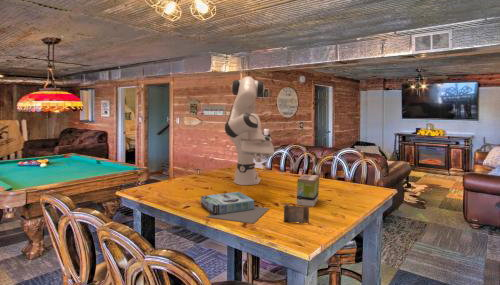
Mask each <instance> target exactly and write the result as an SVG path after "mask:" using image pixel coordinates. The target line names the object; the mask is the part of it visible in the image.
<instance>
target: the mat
mask: <svg viewBox="0 0 500 285" xmlns="http://www.w3.org/2000/svg"><path fill="white" fill-rule="evenodd" d="M267 210H268V211H269V210H270V207H262V206H255V205H254V209H250V210H243V211H236V212H228V213H221V214H214V215H213V214H212V213H210V214H208V215H207V216H206V218H209V219H217V220H224V221H229V222H230V221H231V222H237V223H243V222H244V223H243V224H245V223H246V224H250V223H251V225H252V224H253V225H255V223H257V221H258V220H259V219H261V218H262V217H263V216H264V215H265V214H266V213H267V212H268V211H267ZM266 211H267V212H266ZM265 212H266V213H265ZM264 213H265V214H264ZM263 214H264V215H263ZM262 215H263V216H262Z"/></svg>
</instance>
